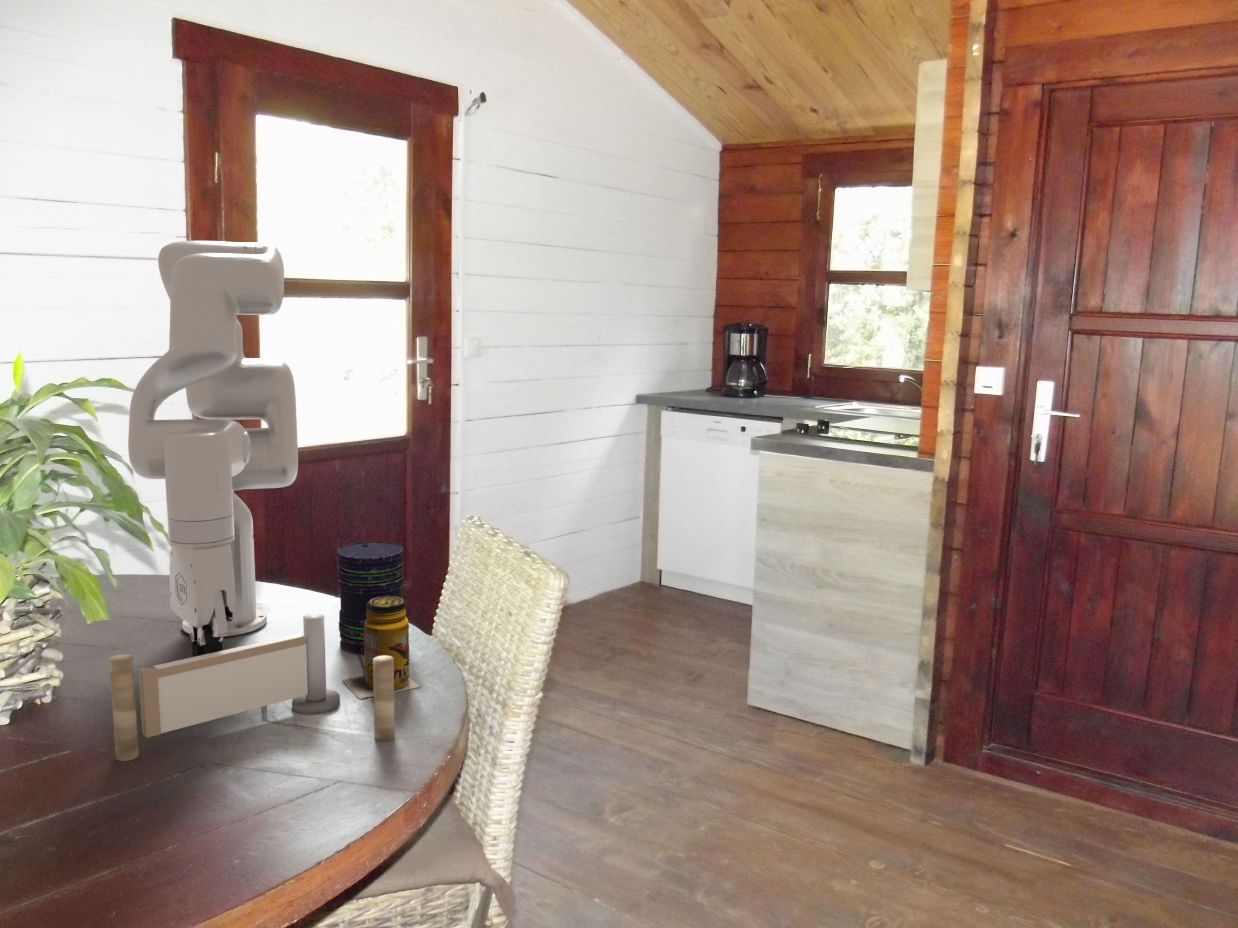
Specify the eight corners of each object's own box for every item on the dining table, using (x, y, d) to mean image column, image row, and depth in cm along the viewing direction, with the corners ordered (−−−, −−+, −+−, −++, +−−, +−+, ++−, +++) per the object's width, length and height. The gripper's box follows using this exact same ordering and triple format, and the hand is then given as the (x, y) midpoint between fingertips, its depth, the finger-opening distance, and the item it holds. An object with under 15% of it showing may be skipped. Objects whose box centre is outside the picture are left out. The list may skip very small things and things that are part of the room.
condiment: (419, 687, 142) (418, 603, 139) (360, 700, 137) (358, 613, 135) (399, 670, 148) (398, 589, 145) (342, 681, 143) (339, 598, 141)
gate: (320, 691, 136) (318, 611, 135) (329, 697, 135) (327, 617, 133) (141, 738, 121) (135, 650, 119) (148, 746, 120) (143, 656, 118)
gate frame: (108, 750, 121) (101, 652, 119) (329, 691, 139) (326, 606, 137) (162, 810, 107) (155, 702, 105) (398, 737, 126) (396, 643, 124)
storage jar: (413, 649, 156) (412, 553, 153) (349, 659, 151) (346, 561, 148) (393, 629, 164) (392, 538, 162) (331, 638, 160) (329, 545, 157)
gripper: (148, 522, 129) (156, 661, 132) (193, 546, 118) (200, 697, 121) (208, 514, 134) (214, 648, 137) (256, 536, 123) (262, 681, 126)
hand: (208, 671), depth 129 cm, fingers closed
